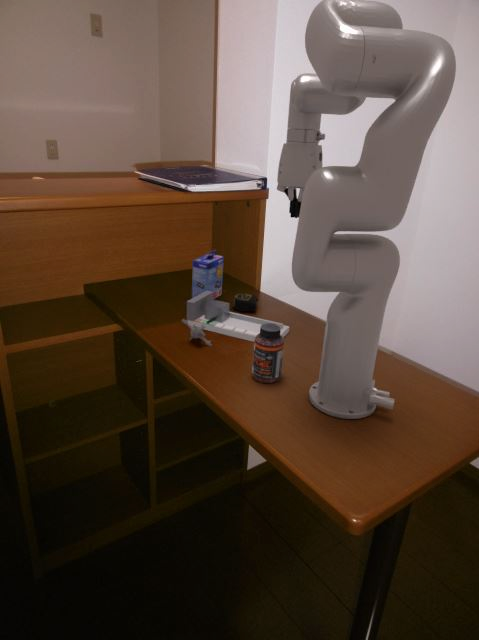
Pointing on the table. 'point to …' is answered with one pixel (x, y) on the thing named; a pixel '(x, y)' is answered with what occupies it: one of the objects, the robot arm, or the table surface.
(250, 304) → the tape measure
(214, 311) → the block
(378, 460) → the table surface
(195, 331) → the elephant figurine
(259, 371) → the supplement bottle
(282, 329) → the board
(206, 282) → the ink cartridge box
